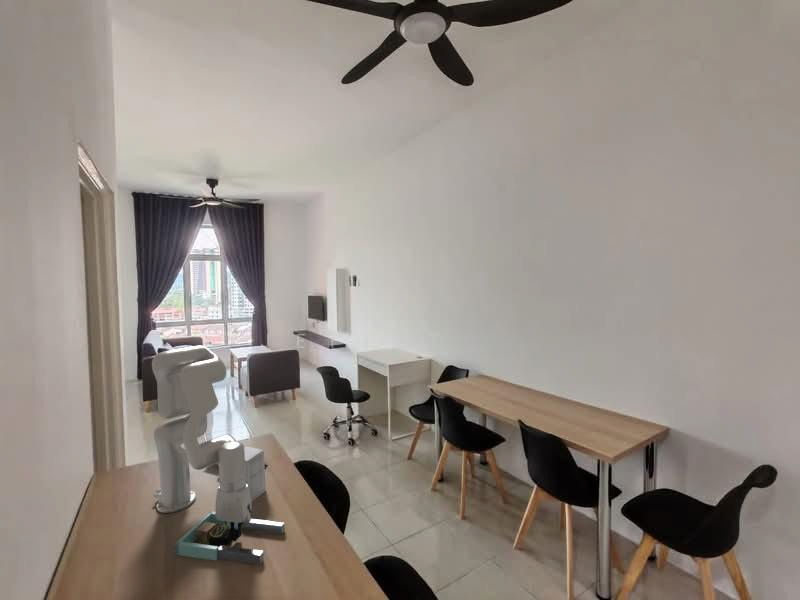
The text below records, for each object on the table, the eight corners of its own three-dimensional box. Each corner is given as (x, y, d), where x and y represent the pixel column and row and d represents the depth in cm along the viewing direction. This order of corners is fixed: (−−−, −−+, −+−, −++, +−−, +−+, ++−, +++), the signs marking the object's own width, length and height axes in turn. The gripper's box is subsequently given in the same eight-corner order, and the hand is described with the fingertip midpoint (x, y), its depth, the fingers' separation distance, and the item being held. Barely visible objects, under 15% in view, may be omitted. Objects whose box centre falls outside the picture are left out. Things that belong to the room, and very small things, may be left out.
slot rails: (217, 559, 112) (217, 549, 112) (246, 526, 126) (246, 518, 126) (260, 565, 109) (259, 555, 109) (284, 531, 124) (284, 522, 123)
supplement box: (248, 486, 151) (246, 445, 149) (266, 490, 147) (264, 449, 146) (229, 499, 142) (227, 456, 140) (248, 504, 138) (246, 460, 137)
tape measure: (228, 548, 117) (228, 537, 116) (205, 551, 115) (204, 539, 115) (234, 533, 123) (234, 522, 123) (212, 536, 122) (211, 525, 122)
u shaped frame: (175, 554, 114) (174, 543, 114) (210, 520, 129) (210, 511, 129) (216, 560, 111) (215, 549, 111) (247, 525, 127) (247, 515, 127)
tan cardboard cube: (196, 541, 120) (196, 529, 119) (206, 533, 123) (205, 521, 123) (207, 543, 119) (206, 531, 118) (216, 535, 122) (215, 523, 122)
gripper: (203, 487, 115) (206, 543, 116) (247, 491, 112) (250, 549, 114) (219, 474, 123) (222, 527, 124) (261, 478, 120) (263, 532, 121)
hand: (235, 538), depth 119 cm, fingers closed
